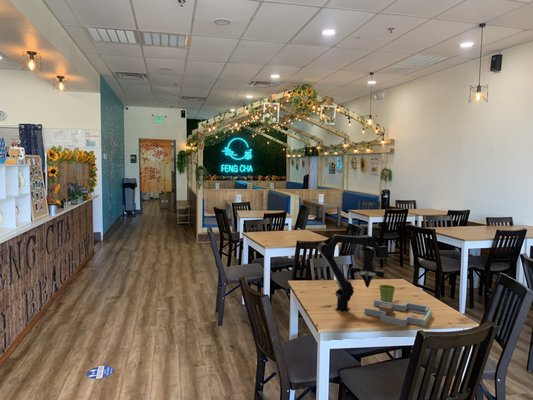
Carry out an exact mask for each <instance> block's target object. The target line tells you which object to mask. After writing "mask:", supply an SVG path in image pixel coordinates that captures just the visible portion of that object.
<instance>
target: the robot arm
mask: <svg viewBox="0 0 533 400" xmlns="http://www.w3.org/2000/svg"><path fill="white" fill-rule="evenodd" d="M339 243H342V244H343V243H344V244H354V245H361V247H360V248H358V249H359V251H361V252H362V261H361V262H362V268H361V266H357V265H353V266H351V267H350V268H349V273H350V274H351V273H352V274H356V273H359V276H361V278H362V280H363V282H364V284H365V287H366V288H369V287H370V284H371V281H372V279H373V278H375V277H378V278H386V276H387V271H386V270H385V269H378V270H377V265H378V264H377V263H375V259H379V260H382V259H383V260H385V259H388V258H389V255H390V254H389V250H388V246H386V245H381V246H379V245H378V244H377V240H376V238H375V237H374V236H371V235H368V234H363V235H359V236H357V235H356V236H355V235H344V234H343V235H342V234H336V233H335V234H332V235H331V236H330V237H328V238H326V239H325V240H324V241H323V242H320V243H319V244H318V245H317V247H316V248H317V252H318V253H319V254H320V255H321V256H322V257H323V258H324V260H325V261H326V263H327V265H328V266H329V268H330V270H331V272H332V274H333V276H334V278H335V280H336V281H337V286H338V289H337V290H336V291H335V296H336V297H337V301H336V302H337V303H336V307H335V308H334V310H335V309H336V310H335V311H338V310H341V311H340V312H343V311H345V312H344V313H346V311H347V312H349V310H351V307H349V301H350V300H351V299H352V296H353V295H354V291H355V290H354V289H355V288H354V287H353V285H352V283H351V281H350V280H348V279H345V277H344V275H343V274H342V272H341V269H340V267H339V265H338V264H337V262H336V260H335V258H334V255H333V251H332V250H333V249H334V248H335V247H336V246H337V245H338V244H339Z"/></svg>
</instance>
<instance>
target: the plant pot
mask: <svg viewBox="0 0 533 400" xmlns="http://www.w3.org/2000/svg"><path fill="white" fill-rule="evenodd" d="M378 287H379V288H378V289H379V293H380V301H383V302H389V303H393V300H394V295H395V294H394V293H395V290H396V289H397V288H396V286H394V285H390V284H380V285H378Z"/></svg>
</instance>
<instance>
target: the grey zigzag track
mask: <svg viewBox="0 0 533 400" xmlns="http://www.w3.org/2000/svg"><path fill="white" fill-rule="evenodd" d="M382 303H384V304H390V305H393V311H399V312H400V311H401V312H409V313H414V314H420V315H424V317H423V318H419V317H414V316H409V315H406V316H405V317H404V318H403V319H402V318H397V317H393V316H389V315H386V312H384V311H379V309H373V308H369V307H364V313H363V314H364V315H367V314H368V315H367V316H373V317H379V322H380V321H381V323H385V324H391V325H396V326H400V327H406V326H407V324H412V325H417V326H421V327H425V326H426V325H427V324H428V322H429V321H430V319H431V318H432V310H431V309H430V307H431V306H429V305H423V304H419V303H412V302H405V303H404V304H398V303H393V302H391V303H390V302H383V301H381V300H377V299H374V300H373V306H375V307H379V306H380V305H381V304H382Z"/></svg>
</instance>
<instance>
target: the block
mask: <svg viewBox="0 0 533 400" xmlns="http://www.w3.org/2000/svg"><path fill="white" fill-rule="evenodd" d="M378 310H379V311H384V312H386V316H389V317H392V314H393V313H394V309H393V305H390V304H384V303H382V304H381V305H380V306H378Z"/></svg>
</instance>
